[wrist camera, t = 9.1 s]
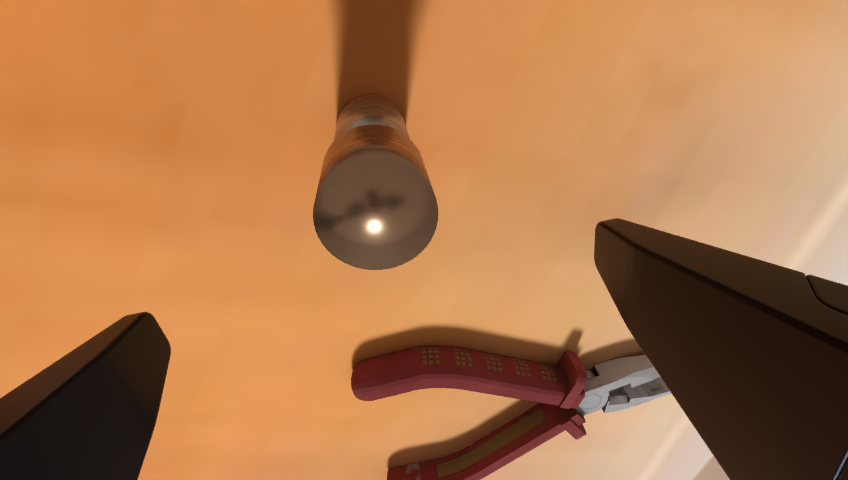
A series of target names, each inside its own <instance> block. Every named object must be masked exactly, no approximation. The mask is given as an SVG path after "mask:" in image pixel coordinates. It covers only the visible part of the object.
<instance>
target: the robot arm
mask: <svg viewBox="0 0 848 480" xmlns="http://www.w3.org/2000/svg"><path fill="white" fill-rule="evenodd" d="M594 260H595V265H596V267H597V270H598V272H599V274H600V275H601V277H602V279H603V281H604V283H605V285H606V287H607V289H608V291H609V293H610V295H611V297H612V299H613V301H614V303H615V305H616V307H617V309H618V311H619V312H620V314H621V316H622V318H623V320H624V322H625V324H626V325H627V327H628V329H629V330H630V332H631V334H632V335H633V337H634V338H635V340H636V341H637V343H638V344H639V346H640V347H641V349H642V350H643V352H644V353H645V355H646V356H647V357H648V359H649V360H650V362H651V363H652V365H653V366H654V368H655V369H656V371H657V372H658V374H659V375H660V377H661V378H662V380H663V381H664V383H665V384H666V386H667V387H668V389H669V390H670V392H671V393H672V394H673V396H674V397H675V399H676V400H677V402H678V403H679V405H680V406H681V408H682V409H683V411H684V412H685V414H686V415H687V417H688V418H689V420H690V421H691V423H692V424H693V426H694V427H695V429H696V430H697V431H698V433H699V434H700V436H701V437H702V439H703V440H704V442H705V443H706V445H707V446H708V448H709V449H710V451H711V452H712V454H713V455H714V457H715V458H716V460H717V461H718V463H719V464H720V466H721V467H722V468H723V470H724V471H725V473H726V474H727V476H728V477H729V479H730V480H848V286H847V285H844V284H840V283H836V282H833V281H830V280H826V279H823V278H820V277H816V276H813V275H807V276H806V275H805V274H804V273H802V272H799V271H795V270H792V269H789V268H785V267H782V266H778V265H775V264H772V263H768V262H765V261H762V260H758V259H755V258H751V257H748V256H745V255H741V254H738V253H734V252H731V251H728V250H724V249H721V248H717V247H714V246H711V245H707V244H704V243H700V242H697V241H694V240H690V239H687V238H684V237H680V236H677V235H673V234H670V233H667V232H663V231H660V230H656V229H653V228H650V227H646V226H643V225H639V224H636V223H633V222H629V221H626V220H623V219H619V218H615V219H610V220H605V221H601V222H599V223H598V224H597V225H596V228H595V248H594ZM170 354H171V348H170V344H169V341H168V339H167V338H166V336H165V334H164V333H163V331H162V329H161V328H160V326H159V324H158V323H157V321H156V319H155V318H154V316H153V315H152V314H150V313H148V312H141V313H136V314H131V315H127V316H125V317H123V318H121V319H120V320H118V321H117V322H115V323H114V324H112V325H111V326H109V327H108V328H106V329H105V330H103V331H102V332H100V333H99V334H97V335H96V336H94V337H93V338H91V339H89V340H88V341H86V342H85V343H83V344H82V345H80V346H79V347H77V348H76V349H74V350H73V351H71V352H70V353H68V354H67V355H65V356H64V357H62V358H61V359H59V360H58V361H56V362H55V363H53V364H52V365H50V366H49V367H47V368H46V369H44V370H43V371H41V372H40V373H38V374H37V375H35V376H34V377H32V378H31V379H29V380H27V381H26V382H24V383H23V384H21V385H20V386H18V387H17V388H15V389H14V390H12V391H11V392H9V393H8V394H6V395H5V396H3V397H2V398H0V480H137V479H138V476H139V473H140V470H141V467H142V464H143V461H144V458H145V455H146V452H147V449H148V446H149V443H150V440H151V437H152V434H153V430H154V427H155V424H156V420H157V416H158V412H159V407H160V402H161V397H162V393H163V388H164V383H165V378H166V374H167V369H168V364H169V360H170Z"/></svg>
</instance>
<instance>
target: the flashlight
mask: <svg viewBox="0 0 848 480" xmlns="http://www.w3.org/2000/svg"><path fill="white" fill-rule="evenodd" d="M313 220H314V226H315V230H316V232H317V235H318V237H319V239H320V241H321V242H322V244H323V245H324V246H325V248H326V249H327V250H328V251H329V252H330V253H331V254H332V255H333V256H335V257H336V258H337V259H339V260H341V261H342V262H344V263H346V264H349V265H351V266H354V267H357V268H362V269H368V270H382V269H389V268H393V267H397V266H399V265H402V264H404V263H406V262H408V261H410V260H412V259H413V258H414V257H416V256H417V255H418V254H419V253H421V252H422V251H423V250H424V248H425V247H426V246H427V245H428V243H429V242H430V241H431V239H432V237H433V235H434V232H435V230H436V226H437V221H438V206H437V201H436V198H435V195H434V192H433V189H432V186H431V183H430V180H429V177H428V174H427V171H426V168H425V165H424V162H423V159H422V157H421V154H420V152H419V150H418V149H417V147H416V146H415V144H414V143H413V142H412V141H411V140H410V138H409V135H408V132H407V128H406V125H405V122H404V119H403V116H402V114H401V112H400V111H399V109H398V108H397V107H396V106H395V105H394V104H393V103H392V102H390V101H389V100H387V99H385V98H383V97H380V96H375V95H366V96H361V97H358V98H355V99H354V100H352V101H350V102H349V103H348V104H347V105H346V106H345V107H344V108H343V109H342V111H341V113H340V115H339V117H338V121H337V126H336V131H335V137H334V142H333V143H332V145H331V146H330V147H329V149H328V151H327V153H326V155H325V158H324V161H323V166H322V171H321V175H320V180H319V184H318V189H317V194H316V198H315V203H314V208H313Z"/></svg>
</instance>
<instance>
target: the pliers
mask: <svg viewBox="0 0 848 480" xmlns="http://www.w3.org/2000/svg"><path fill="white" fill-rule="evenodd" d="M594 367H595V371H596V375H597V376H596V375H595V374H594V373H593V372H592V371H589V370H585V368H584V367H583V365H582V363H581V362H580V360H579V358H578V356H577V355H576V353H575V352H570V351H565V352H564V354H563V355H562V357H561V358H560V360H559V362H558V363H557V365H556V366H552V365H547V364H542V363H537V362H532V361H526V360H521V359H516V358H511V357H506V356H501V355H495V354H490V353H485V352H480V351H475V350H470V349H464V348H457V347H447V346H422V347H415V348H411V349H407V350H403V351H399V352H395V353H391V354H387V355H383V356H379V357H375V358H370V359H366V360H364V361H362V362H360V363H359V364H358V365H356V367H355V368H354V370H353V372H352V377H351V387H352V390H353V393H354V395H355V397H356V398H358V399H360V400H364V401H373V400H377V399H381V398H385V397H390V396H394V395H398V394H402V393H406V392H410V391H412V390H418V389H426V388H454V389H463V390H469V391H475V392H481V393H487V394H492V395H498V396H504V397H510V398H516V399H522V400H528V401H534V402H540V403H539V404H537V405H536V406H534V407H532V408H531V409H529V410H527V411H526V412H524V413H523V414H521V415H519V416H518V417H516V418H514V419H513V420H511V421H510V422H508V423H506V424H505V425H503V426H501V427H500V428H498V429H497V430H495V431H493V432H492V433H490V434H488V435H487V436H485V437H484V438H482V439H480V440H479V441H477V442H475V443H474V444H472V445H470V446H468V447H467V448H465V449H463V450H461V451H458V452H456V453H454V454H451V455H448V456H445V457H442V458H439V459H435V460H430V461H425V462H420V463H414V464H409V465H404V466H399V467H395V468H390V469H389V470H388V473H387V480H480V479H482V478H484V477H486V476H488V475H489V474H491V473H493V472H494V471H496V470H498V469H500V468H501V467H503V466H505V465H506V464H508V463H510V462H512V461H513V460H515V459H517V458H518V457H520V456H522V455H524V454H525V453H527V452H529V451H530V450H532V449H534V448H536V447H537V446H539V445H541V444H542V443H544V442H546V441H548V440H549V439H551V438H553V437H554V436H556V435H558V434H560V433H561V432H563V431H565V430H566V431H567V432H568V433H569V434H571V435H572V436H573V437H574V438H575V439H579V438H581V437H582V436H584V435H586V431H585V429H584V427H583V423H585V422H586V421H585V419H584V417H583V416H584V415H587V414H590V413H593V412H596V411H598V410H600V409H601V408H602V410H603V411H604V413H607V412H614V411H619V410H623V409H626V408H630V407H633V406H636V405H639V404H642V403H644V402H647V401H650V400H653V399H656V398H659V397H662V396H665V395H667V394H670V393H671V392H670V390H669V389H668V387H667V386H666V384H665V383H664V381H663V380H662V378H658V377H660V375H659V374H658V372H657V371H656V369H655V368H654V366H653V365H652V363H651V362H650V360H649V359H648V357H647V356H646V355H638V356H630V357H622V358H617V359H612V360H608V361H605V362H602V363H599V364H596V365H594Z"/></svg>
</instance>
